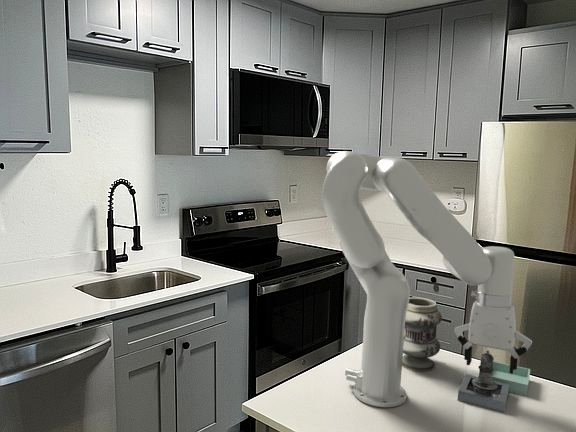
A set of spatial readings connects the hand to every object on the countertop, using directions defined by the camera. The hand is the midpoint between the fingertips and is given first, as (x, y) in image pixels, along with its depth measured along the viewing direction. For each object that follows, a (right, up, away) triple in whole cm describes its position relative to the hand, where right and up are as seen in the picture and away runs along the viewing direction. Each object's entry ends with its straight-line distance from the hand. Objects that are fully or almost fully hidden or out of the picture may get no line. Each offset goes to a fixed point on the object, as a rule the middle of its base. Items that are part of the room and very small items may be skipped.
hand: (489, 367), depth 120 cm
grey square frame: (-1, -8, +1) cm, 8 cm away
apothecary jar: (-13, -5, +19) cm, 23 cm away
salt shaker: (-1, -8, +1) cm, 8 cm away
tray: (+8, -7, +9) cm, 14 cm away
